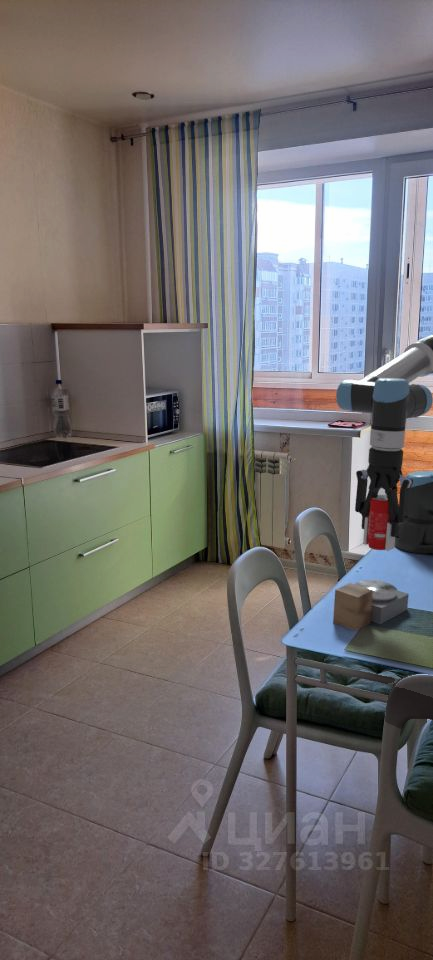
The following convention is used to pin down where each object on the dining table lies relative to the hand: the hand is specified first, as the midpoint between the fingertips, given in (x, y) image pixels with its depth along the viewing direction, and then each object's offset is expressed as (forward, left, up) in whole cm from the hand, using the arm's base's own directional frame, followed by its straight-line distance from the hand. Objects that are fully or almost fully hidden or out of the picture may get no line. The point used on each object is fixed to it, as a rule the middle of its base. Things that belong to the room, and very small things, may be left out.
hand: (378, 546), depth 163 cm
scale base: (0, 0, -16) cm, 16 cm away
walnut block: (+10, 0, -16) cm, 19 cm away
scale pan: (0, 0, -12) cm, 12 cm away
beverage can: (0, 0, 0) cm, 0 cm away
